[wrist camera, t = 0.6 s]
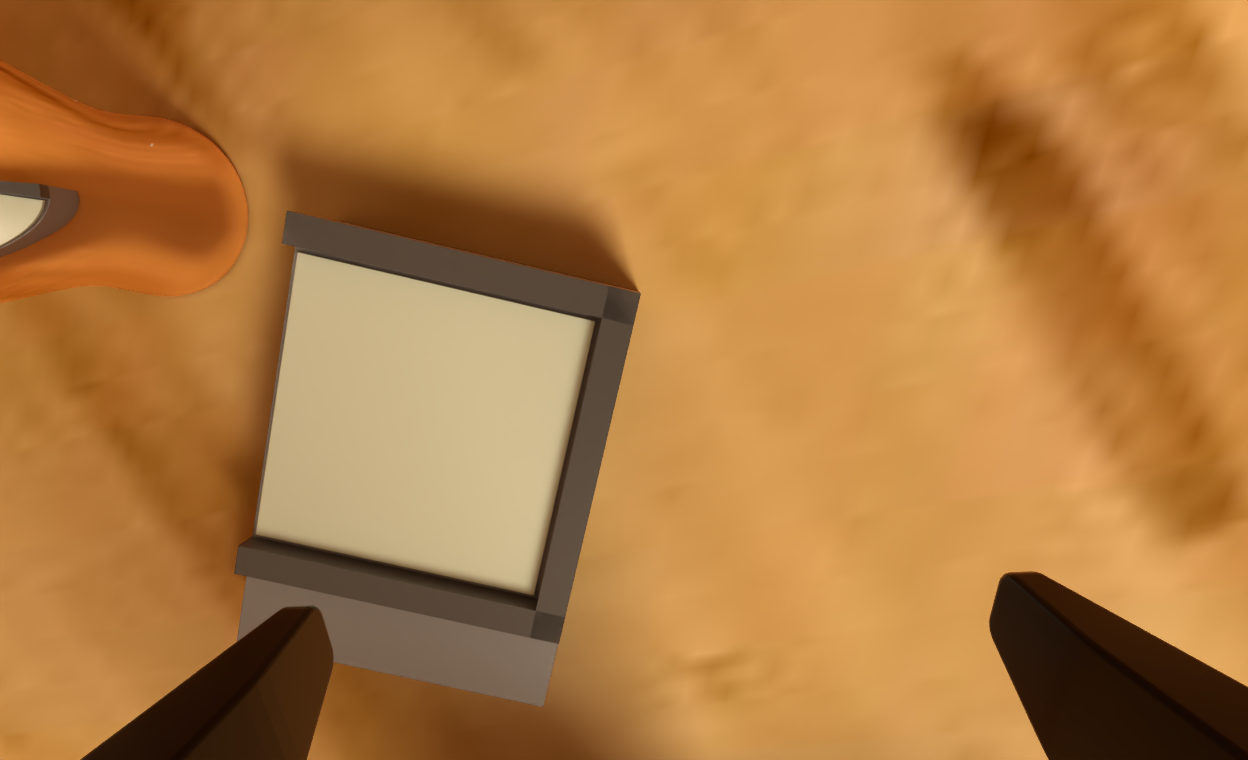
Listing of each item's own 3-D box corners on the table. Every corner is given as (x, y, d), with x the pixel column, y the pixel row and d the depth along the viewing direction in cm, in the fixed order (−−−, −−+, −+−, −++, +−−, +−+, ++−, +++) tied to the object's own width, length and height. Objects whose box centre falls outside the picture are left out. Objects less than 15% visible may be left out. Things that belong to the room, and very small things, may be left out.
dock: (551, 665, 25) (540, 722, 22) (275, 605, 25) (222, 654, 22) (639, 291, 23) (640, 293, 20) (336, 220, 23) (287, 210, 19)
